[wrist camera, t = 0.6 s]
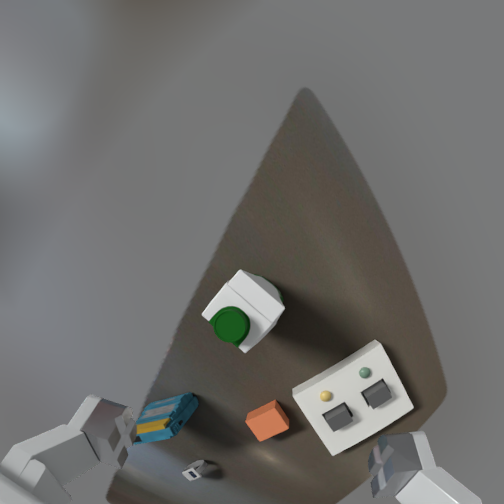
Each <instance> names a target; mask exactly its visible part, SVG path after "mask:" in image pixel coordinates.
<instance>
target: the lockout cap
mask: <svg viewBox="0 0 504 504" xmlns="http://www.w3.org/2000/svg"><path fill="white" fill-rule="evenodd" d="M245 422H246V423H247V425H248V426H249V427H250V429H251V430H252V432H253V433H254V434H255V436H256V437H257V439H258V440H259V441H263V440H265V439H267V438H269V437H272V436H274V435H276V434H278V433H280V432H283V431H285V430H287V429H289V419H288V417H287V416H286V414H285V413H284V411H283V410H282V408H281V407H280V405H279V404H278V402H277V401H276V400H274V401H272V402H270V403H268V404H266V405H264V406H262V407H260V408H258V409H256V410H254V411H251V412H249V413H248V415H247V418H246V421H245Z"/></svg>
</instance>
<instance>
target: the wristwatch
mask: <svg viewBox="0 0 504 504" xmlns="http://www.w3.org/2000/svg"><path fill="white" fill-rule="evenodd" d="M198 466H199V467H198ZM207 466H208V464H207V463H206V462H205V461H204V460H198V461H196V462H194V463H192V464H191V465H189V466H188V467H186V468H185V469H184V470H183V472H182V474H183V475H184V476H185V477H186V478H187V479H188V480H189V481H192V480H195V479H197V478H200V477H202V475H201V474H200V473H202V472H203V471H204V470H205V469H206V467H207ZM196 467H198V468H197V469H196Z"/></svg>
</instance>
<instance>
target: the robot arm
mask: <svg viewBox="0 0 504 504" xmlns="http://www.w3.org/2000/svg"><path fill="white" fill-rule="evenodd" d="M132 415H133V412H132V409H131V407H128V406H125V405H122V404H119V403H115V402H113V401H110V400H106V399H104V398H101V397H98V396H95V395H92V394H91V395H89V396H88V397H87V398H86V399H85V400H84V402H83V403H82V405H81V406H80V408H79V409H78V411H77V412H76V413H75V415H74V416H73V418H72V419H71V421H70V422H69V424H68V425H65V424H63V425H61V426H59V427H56V428H54V429H52V430H50V431H47V432H45V433H43V434H40V435H38V436H35V437H33V438H30V439H28V440H26V441H23V442H21V443H18V444H16V445H14V446H13V447H12V449H11V450H10V451H9V453H8V454H7V455H6V457H5V458H4V460H3V461H2V463H1V464H0V504H70V502H71V500H72V498H71V496H70V495H69V493H68V492H67V491H66V490H65V489H64V488H63V486H64V485H66V484H67V483H69V482H71V481H72V480H74V479H76V478H77V477H78V476H80V475H82V474H83V473H85V472H87V471H88V470H90V469H91V468H93V467H94V466H96V465H97V464H99V463H100V462H102V463H105V464H108V465H111V466H114V467H117V468H120V469H122V467H123V465H124V463H125V461H126V459H127V457H128V453H127V448H129V447H131V446H132V445H133V444H134V441H135V439H136V434H137V425H136V422H135V421H134V420H133V419H132V418H131V417H132ZM99 461H100V462H99ZM368 468H369V473H370V474H372V475H373V476H374V478H373V480H372V482H371V487H372V494H373V498H378V497H388V496H395V497H396V498H397V499H398V501H399V502H400V503H401V504H482V501H481V499H480V498H479V497H477V496H476V495H475V494H474V493H472V492H471V491H470V490H468V489H467V488H466V487H465V486H463V485H462V484H461V483H460V482H458V481H457V480H456V479H455V478H453V477H452V476H451V475H450V474H449V473H447V472H446V471H444V469H442V468H441V467H436V464H435V461H434V458H433V455H432V452H431V449H430V446H429V443H428V440H427V438H426V435H425V433H424V432H423V431H418V432H410V433H409V432H405V433H395V434H384V435H382V436H380V438H379V439H378V445H377V446H376V447H374V448H373V449H372V451H371V453H370V455H369V460H368Z"/></svg>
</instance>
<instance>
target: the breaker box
mask: <svg viewBox="0 0 504 504" xmlns="http://www.w3.org/2000/svg"><path fill="white" fill-rule="evenodd" d="M379 380H382V381H383V383H384V384H385V385H386V386H387V388H388V390H389V392H390V394H391V396H392V398H391V399H389V400H388V401H386V402H385V403H383V404H381V405H380V406H378V407H377V408H375V409H372V407H371V406H370V404H369V402H368V401H367V399H366V397H365V396H364V394H363V392H362V391H363V390H365V389H366V388H368V387H370V386H371V385H373V384H374V383H376V382H378V381H379ZM293 397H294V399H295V401H296V402H297V404H298V405H299V407H300V408H301V410H302V411H303V413H304V414H305V416H306V417H307V419H308V420H309V422H310V423H311V425H312V426H313V428H314V429H315V431H316V432H317V434H318V435H319V437H320V438H321V440H322V441H323V443H324V444H325V446H326V447H327V449H328V450H329V451H330V453H331V454H332V456H334V455H336V454H338V453H339V452H341V451H343V450H345V449H347V448H349V447H351V446H353V445H355V444H356V443H358V442H360V441H362V440H364V439H365V438H367V437H369V436H371V435H372V434H374V433H376V432H377V431H379V430H381V429H382V428H384V427H386V426H387V425H389V424H390V423H392V422H393V421H395V420H397V419H398V418H400V417H401V416H403V415H404V414H406V413H407V412H409V411H410V410H412V409H413V408H414V407H413V405H412V403H411V401H410V399H409V397H408V395H407V393H406V391H405V389H404V387H403V385H402V383H401V381H400V379H399V377H398V375H397V373H396V371H395V369H394V367H393V366H392V364H391V362H390V360H389V358H388V356H387V354H386V352H385V350H384V349H383V347H382V345H381V343H379V342H378V341H376V340H373V341H372V342H370V343H369V344H367V345H366V346H364V347H362V348H361V349H359V350H358V351H356V352H355V353H353V354H351V355H350V356H348V357H347V358H345V359H343V360H342V361H340V362H339V363H337V364H335V365H334V366H332V367H330V368H329V369H327V370H325V371H323V372H322V373H320V374H318V375H316V376H315V377H313V378H311V379H309V380H308V381H306V382H304V383H302V384H300V385H299V386H297V387H295V388H293ZM343 402H344V404H345V406H346V407H347V409H348V411H349V412H350V415H351V417H352V419H353V422H351V423H350V424H348V425H346V426H344V427H343V428H341V429H339V430H337V431H335V432H333V431H332V429H331V428H330V426H329V425H328V423H327V422H326V419H325V415H324V413H325V412H327V411H329V410H331V409H333V408H334V407H336V406H338V405H340V404H341V403H343Z"/></svg>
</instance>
